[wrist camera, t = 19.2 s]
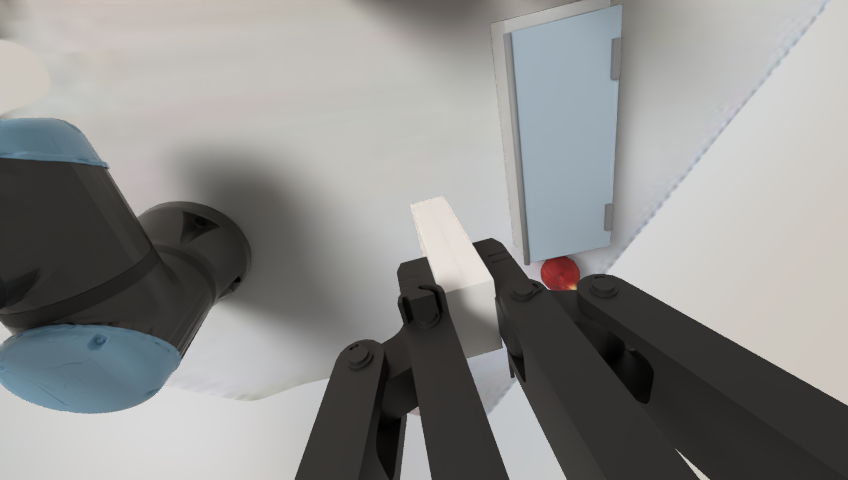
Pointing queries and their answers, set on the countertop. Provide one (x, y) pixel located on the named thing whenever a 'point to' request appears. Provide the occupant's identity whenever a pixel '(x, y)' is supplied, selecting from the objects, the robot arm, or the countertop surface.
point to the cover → (565, 130)
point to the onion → (560, 273)
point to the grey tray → (589, 3)
